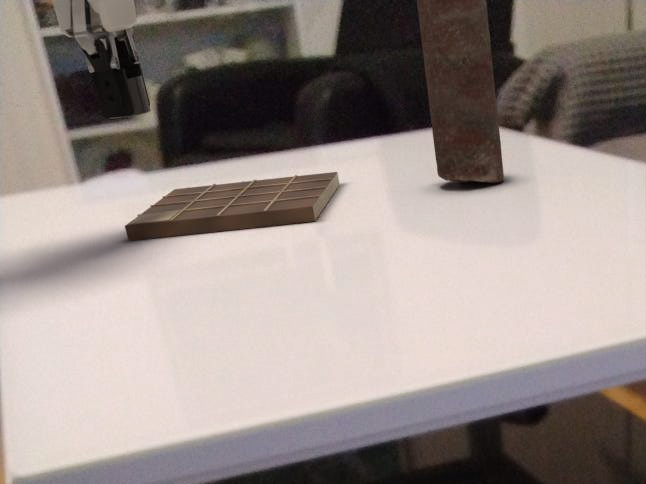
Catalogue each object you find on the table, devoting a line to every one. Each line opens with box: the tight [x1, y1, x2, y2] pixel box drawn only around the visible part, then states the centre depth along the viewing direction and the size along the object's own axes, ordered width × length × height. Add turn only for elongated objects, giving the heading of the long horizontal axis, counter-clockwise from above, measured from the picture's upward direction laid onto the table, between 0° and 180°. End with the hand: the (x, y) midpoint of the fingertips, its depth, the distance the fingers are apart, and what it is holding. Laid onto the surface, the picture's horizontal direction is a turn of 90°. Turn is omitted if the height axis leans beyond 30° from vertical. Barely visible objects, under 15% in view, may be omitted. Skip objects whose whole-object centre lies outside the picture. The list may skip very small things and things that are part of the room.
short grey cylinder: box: [114, 75, 151, 119], centre depth 102 cm, size 4×4×3 cm
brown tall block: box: [416, 0, 505, 185], centre depth 109 cm, size 8×7×20 cm
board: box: [124, 171, 340, 242], centre depth 114 cm, size 20×20×2 cm
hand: (127, 110), depth 103 cm, fingers closed on short grey cylinder, 4 cm apart
